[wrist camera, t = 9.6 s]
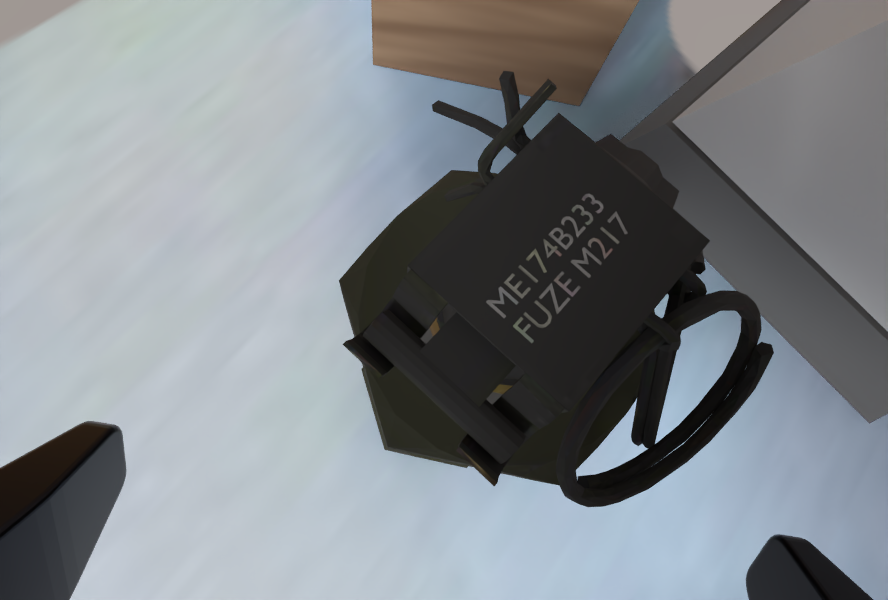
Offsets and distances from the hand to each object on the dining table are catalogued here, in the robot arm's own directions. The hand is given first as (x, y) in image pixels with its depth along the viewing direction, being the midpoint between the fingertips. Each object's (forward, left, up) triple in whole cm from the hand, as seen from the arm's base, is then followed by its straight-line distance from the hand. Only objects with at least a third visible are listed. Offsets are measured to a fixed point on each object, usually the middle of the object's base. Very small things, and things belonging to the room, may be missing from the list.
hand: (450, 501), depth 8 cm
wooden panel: (+13, +7, -11) cm, 19 cm away
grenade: (+3, +1, -12) cm, 12 cm away
